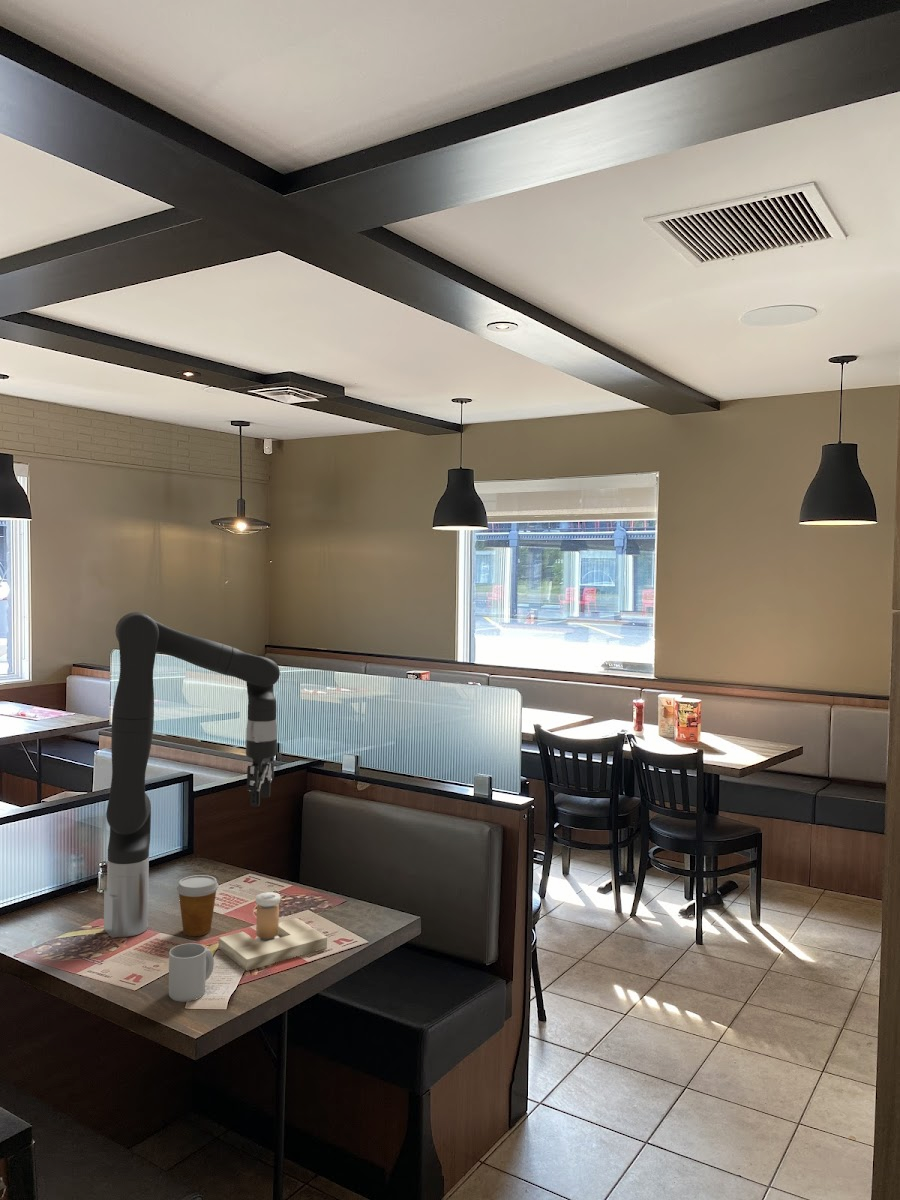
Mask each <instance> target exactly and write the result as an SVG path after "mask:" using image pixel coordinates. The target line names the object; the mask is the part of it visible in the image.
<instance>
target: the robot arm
mask: <svg viewBox="0 0 900 1200" xmlns="http://www.w3.org/2000/svg"><path fill="white" fill-rule="evenodd" d="M115 637H116V639H117V641H118V648H119V677H118V682H117V686H116V690H115V696H114V699H113V705H112V707H113V708H112V714H111V715H112V716H111V718H112V719H111V766H112V767H111V771H112V772H111V783H110V789H109V797H108V801H107V808H106V812H105V813H106V814H105V816H106V821H107V824H108V825H109V841H108V846H107V867H106V868H107V871H106V872H107V873H106V874H107V875H106V876H107V877H106V879H107V880H106V883H107V885H106V889H104V891H103V930H104V931H105V932H106V933H107V935H108V936H109V937H110V938H113V939H114V938H126V937H134V936H137V935H140V934H143V933H144V932H146V931H147V929H148V928H149V882H150V881H149V877H150V876H149V871H150V870H149V869H150V867H149V866H150V865H149V864H150V863H149V862H150V843H151V830H152V829H151V828H152V827H151V823H152V807H151V804H152V803H151V800H150V798H149V796H148V795H147V793H146V772H147V766H148V761H149V758H150V754H151V753H150V752H151V748H152V742H153V734H154V724H155V722H154V719H155V692H154V690H155V689H154V688H155V687H154V669H155V666H154V665H155V662H156V661H155V659H156V654H157V653H160V654H164V655H168V656H171V657H173V658H176V659H178V660H179V659H180V660H182V661H184V662H186V663H189V664H192V665H194V666H197V667H199V668H203V669H205V670H207V671H211V672H214V673H218V674H221V675H224V676H229V677H234V678H237V679H239V680H242V681H244V682H245V683H246V691H247V692H246V693H247V723H246V728H245V729H246V731H245V733H246V734H245V736H246V737H245V756H246V757H247V758H250V759H252V763H251V765H247V771H246V772H247V773H246V791H249V795H250V796H249V799H250V800H249V805H250V807H257V808H258V807H259V806H260V803H261V798H262V799H263V798H264V799H266V798H267V799H268V798H269V797H271V783H272V781H273V779H274V777H275V756H277V751H278V749H277V747H278V745H277V743H278V723H277V700H276V697H275V695H274V694H275V693H274V685H275V684H276V683H277V682H278V681H279V679H280V675H281V673H280V671H281V670H280V667H279V665H278V664H277V663H276V661H274V660H272V659H270V658H269V657H266V656H263V655H262V656H261V655H260V656H258V655H255V654H251V653H248V652H244V651H243V650H241V649H238V648H236V647H234V646H231V645H227V644H224V643H221V642H217V641H214V640H212V639H207V638H204V637H199V636H196V635H192V634H189V633H185V632H183V631H179V630H177V629H173V628H171V627H169V626H167V625H165V624H163V623H161V622H159V621H157V620H155V619H153V618H152V617H150V616H149V615H148V614H146V613H143V612H139V611H134V612H129V613H127V614H125V615H124V616H122V617H121V618H120V619H119V620H118V621H117V624H116V626H115Z"/></svg>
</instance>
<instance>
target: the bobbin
mask: <svg viewBox="0 0 900 1200" xmlns="http://www.w3.org/2000/svg"><path fill="white" fill-rule="evenodd" d="M280 903H281V894H279V893H277V892H273V891H271V892H267V891H266V892H261V893H258V894H257V895H256V896H255V904H256V932H255V934H256V937H255V938H254V940H256V941H257V942H258V943H262V942H266V941H269V940H273V939H277V938H280V937H279V936H278V929H279V922H280V920H279V915H280V906H279V904H280Z"/></svg>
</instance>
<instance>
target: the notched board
mask: <svg viewBox="0 0 900 1200" xmlns="http://www.w3.org/2000/svg"><path fill="white" fill-rule="evenodd" d="M278 936H279V937H280V938H277V939H273V940H269V941H266V942H262V943H258V942H257V941H256V940H255V938H253V937H252V936H250V935H249V934H248V933H246V932H244V931H240V932H235V933H231V934H227V935H224V936H220V937H218V949H219V950H220V951H221V952H222V953H224V954H225V955H226V956H227V957H229V958H230V959H231V960H233V961H234V962H235V963H236V964H238V966H240V967H241V968H242V967H243V968H242V969H244V970H245V971H247V972H248V971H251V970H255V969H259V968H262V967H266V966H268V965H273V964H276V963H279V961H280V962H283V961H286V959H287V960H290V959H293V957H294V958H297V957H300V955H301V956H304V955H307V953H308V954H311V953H314V951H315V952H317V951H322V950H325V949H327V948H328V936H326V935H324V934H323V933H321V932H320V931H318V930H317V929H315V928H313V927H312V926H310V925H308V924H307V923H306V922H304V921H302V920H301V919H299V918H298V917H295V918H290V919H287V920H283V921H279V929H278ZM321 949H322V950H321ZM316 950H317V951H316ZM310 952H311V953H310ZM303 954H304V955H303ZM296 956H297V957H296ZM275 962H276V963H275ZM272 963H273V964H272Z"/></svg>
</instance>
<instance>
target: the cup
mask: <svg viewBox="0 0 900 1200" xmlns="http://www.w3.org/2000/svg"><path fill="white" fill-rule="evenodd" d="M214 964H215V960H214V955H213V953H212V950H210V949H209V948H207V947H206V946H204V945H203V944H201V943H194V942H190V943H187V942H186V943H183V944H182V943H181V944H178V945H175V946H173V947H172V948H170V950H169V953H168V996H169V997H170V999H171V1000H173V1001H176V1002H180V1003H181V1002H182V1003H186V1002H192V1001H195V1000H194V999H196V998H198V999H200V998H201V997H202V996H203V995H204V993H205V992H206V981H207V980H208V979H209V978H210V976H211V975H212V973H213V970H214V966H215V965H214ZM200 996H201V997H200ZM199 997H200V998H199ZM191 1000H192V1001H191ZM196 1000H197V999H196Z"/></svg>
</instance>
